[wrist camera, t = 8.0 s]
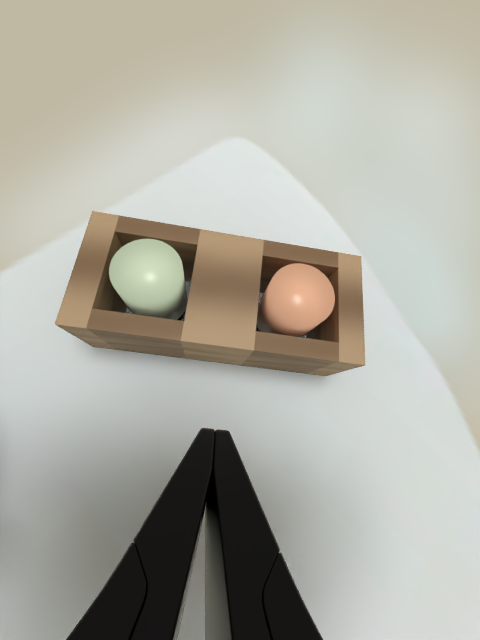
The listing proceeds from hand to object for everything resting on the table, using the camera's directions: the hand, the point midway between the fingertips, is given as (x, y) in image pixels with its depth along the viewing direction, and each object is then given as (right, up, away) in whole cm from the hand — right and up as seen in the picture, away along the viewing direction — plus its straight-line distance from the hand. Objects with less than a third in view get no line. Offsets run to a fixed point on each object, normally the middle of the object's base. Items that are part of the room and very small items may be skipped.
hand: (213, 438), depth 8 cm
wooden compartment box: (-1, +4, +16) cm, 16 cm away
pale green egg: (-6, +5, +14) cm, 15 cm away
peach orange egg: (+4, +4, +14) cm, 15 cm away
